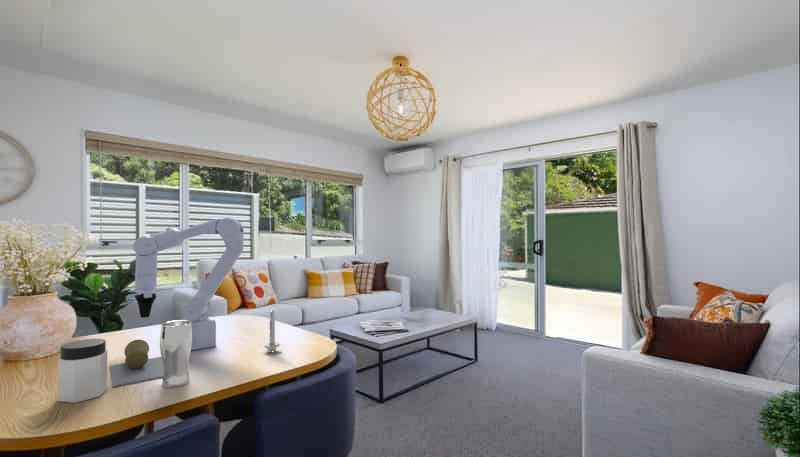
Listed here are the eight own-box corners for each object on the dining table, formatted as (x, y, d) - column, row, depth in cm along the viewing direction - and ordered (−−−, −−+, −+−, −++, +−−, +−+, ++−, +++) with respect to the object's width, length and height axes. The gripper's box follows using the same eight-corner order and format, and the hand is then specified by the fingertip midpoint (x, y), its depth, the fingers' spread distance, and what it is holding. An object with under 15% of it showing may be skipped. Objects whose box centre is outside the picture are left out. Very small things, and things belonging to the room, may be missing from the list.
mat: (172, 356, 117) (172, 354, 117) (182, 373, 102) (182, 372, 102) (110, 366, 107) (110, 365, 107) (112, 387, 93) (112, 386, 93)
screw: (261, 353, 119) (267, 349, 124) (276, 354, 119) (282, 349, 124) (261, 311, 119) (267, 308, 124) (277, 312, 119) (282, 308, 124)
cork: (142, 362, 113) (142, 374, 104) (119, 356, 110) (118, 368, 101) (153, 343, 115) (154, 353, 106) (131, 336, 112) (131, 346, 103)
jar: (102, 384, 95) (102, 336, 95) (111, 393, 90) (112, 342, 90) (54, 396, 88) (54, 344, 88) (61, 407, 83) (61, 351, 83)
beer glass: (168, 391, 91) (169, 328, 92) (153, 384, 95) (154, 324, 95) (197, 381, 97) (197, 322, 97) (182, 375, 101) (182, 318, 101)
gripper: (129, 272, 126) (127, 314, 126) (132, 277, 114) (131, 323, 114) (154, 271, 130) (153, 311, 130) (160, 276, 119) (159, 320, 119)
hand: (144, 317), depth 122 cm, fingers closed
